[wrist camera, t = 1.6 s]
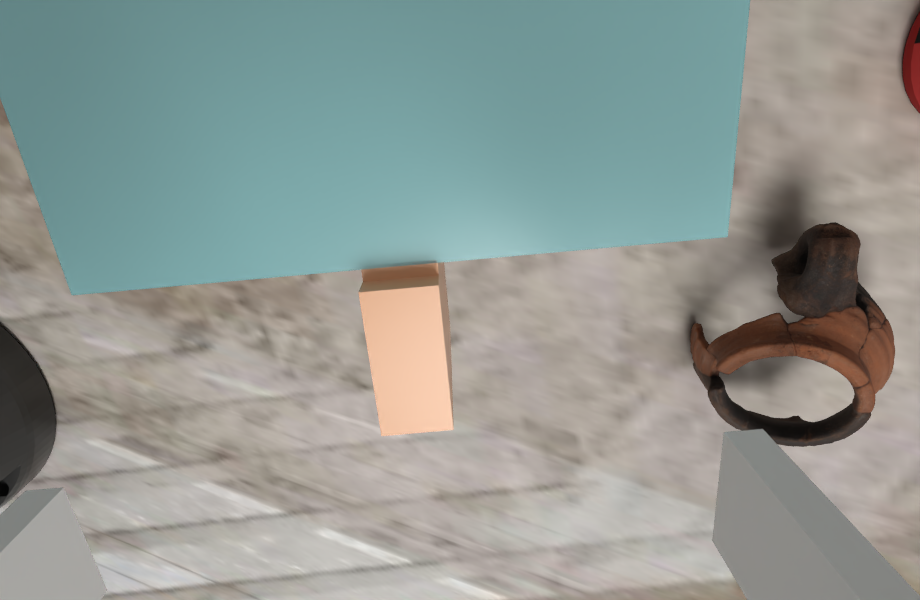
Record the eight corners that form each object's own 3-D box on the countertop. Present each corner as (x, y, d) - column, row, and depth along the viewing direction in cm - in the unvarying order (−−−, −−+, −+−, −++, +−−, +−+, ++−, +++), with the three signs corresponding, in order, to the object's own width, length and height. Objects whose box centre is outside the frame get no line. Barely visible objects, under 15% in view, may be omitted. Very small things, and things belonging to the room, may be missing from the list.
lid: (210, 347, 26) (108, 460, 18) (69, -167, 19) (-202, -355, 11) (640, 309, 26) (726, 405, 18) (660, -221, 19) (818, -448, 11)
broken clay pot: (858, 362, 33) (881, 474, 28) (692, 345, 37) (681, 440, 32) (914, 183, 26) (961, 283, 21) (702, 185, 30) (691, 269, 25)
